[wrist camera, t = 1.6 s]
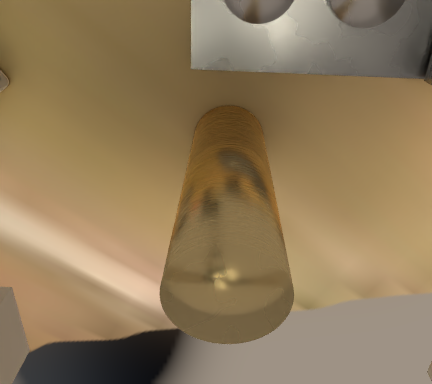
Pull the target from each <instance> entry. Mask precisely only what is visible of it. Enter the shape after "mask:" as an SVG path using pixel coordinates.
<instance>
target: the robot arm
mask: <svg viewBox="0 0 432 384" xmlns="http://www.w3.org/2000/svg"><path fill="white" fill-rule="evenodd" d="M29 351H30V350H29V346H28V343H27V339H26V336H25V332H24V328H23V325H22V321H21V318H20V314H19V310H18V307H17V303H16V300H15V296H14V293H13V289H12V287H0V384H12V382H13V380H14V378H15V377H16V375H17V373H18V371H19V369H20V367H21V366H22V364H23V362H24V360H25V358H26V356H27V354H28V353H29ZM427 373H428V375H429V377H430V379H431V381H432V362H431V364H430V366H429V369H428V371H427Z"/></svg>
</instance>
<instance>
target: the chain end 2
mask: <svg viewBox="0 0 432 384" xmlns="http://www.w3.org/2000/svg"><path fill="white" fill-rule="evenodd" d="M424 81H426V82H427V83H429V84H431V85H432V55H431V58H430V61H429V65H428V68H427V72H426V75H425V79H424Z"/></svg>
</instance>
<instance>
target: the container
mask: <svg viewBox="0 0 432 384" xmlns="http://www.w3.org/2000/svg"><path fill="white" fill-rule="evenodd" d="M8 84H9V80H8V78H7V77H6V75H5V74H4V73H3V72H2V71H1V70H0V92H1V91H3V90H4V89H5V88H6V87H7V86H8Z"/></svg>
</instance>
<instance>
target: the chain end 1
mask: <svg viewBox="0 0 432 384" xmlns="http://www.w3.org/2000/svg"><path fill="white" fill-rule="evenodd" d="M431 55H432V0H191V69H199V70H223V71H247V72H272V73H296V74H320V75H344V76H368V77H393V78H417V79H425V75H426V72H427V68H428V65H429V61H430V58H431Z"/></svg>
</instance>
